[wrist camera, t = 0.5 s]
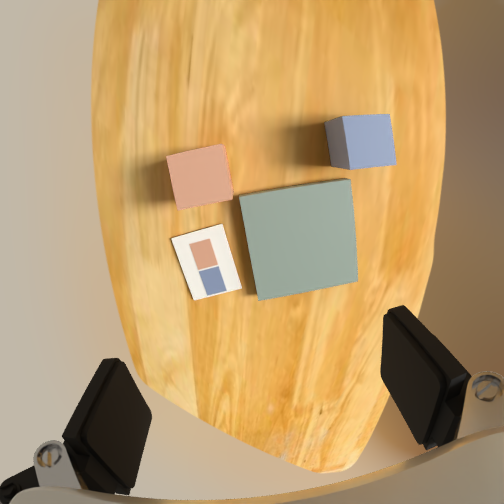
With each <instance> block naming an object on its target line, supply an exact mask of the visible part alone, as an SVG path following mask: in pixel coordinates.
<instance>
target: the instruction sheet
mask: <svg viewBox="0 0 504 504" xmlns="http://www.w3.org/2000/svg"><path fill="white" fill-rule="evenodd" d="M171 239H172V242H173V245H174V248H175V251H176V253H177V256H178V259H179V262H180V264H181V267H182V270H183V273H184V275H185V278H186V281H187V283H188V286H189V289H190V291H191V294H192V297H193V299H194V300H197V299H201V298H205V297H210V296H214V295H218V294H222V293H226V292H229V291H233V290H237V289H241V288H242V286H241V283H240V280H239V277H238V273H237V270H236V267H235V264H234V260H233V257H232V254H231V251H230V247H229V244H228V241H227V238H226V234H225V231H224V228H223V224H219V225H216V226H212V227H209V228H205V229H202V230H198V231H195V232H191V233H188V234H184V235H181V236H177V237H174V238H171Z"/></svg>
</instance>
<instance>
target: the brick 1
mask: <svg viewBox="0 0 504 504" xmlns="http://www.w3.org/2000/svg"><path fill="white" fill-rule="evenodd" d="M166 158H167V163H168V168H169V173H170V178H171V183H172V187H173V192H174V197H175V201H176V206H177V210H182V209H187V208H192V207H197V206H202V205H207V204H212V203H217V202H222V201H227V200H232V199H233V192H234V191H233V186H232V181H231V175H230V170H229V165H228V159H227V154H226V149H225V146H224V145H223V144H218V145H213V146H209V147H204V148H199V149H195V150H190V151H186V152H181V153H177V154H173V155H169V156H166Z"/></svg>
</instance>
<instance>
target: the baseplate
mask: <svg viewBox="0 0 504 504" xmlns="http://www.w3.org/2000/svg"><path fill="white" fill-rule="evenodd" d="M239 200H240V205H241V210H242V216H243V221H244V226H245V232H246V237H247V242H248V248H249V253H250V258H251V264H252V269H253V274H254V279H255V285H256V290H257V295H258V301H261V300H266V299H272V298H277V297H282V296H288V295H293V294H298V293H303V292H308V291H313V290H318V289H323V288H328V287H333V286H338V285H343V284H347V283H352V282H356V281H358V267H357V248H356V233H355V220H354V209H353V198H352V189H351V180H350V179H347V178H343V179H336V180H329V181H322V182H315V183H308V184H301V185H295V186H289V187H282V188H276V189H270V190H265V191H259V192H253V193H248V194H242V195H239Z"/></svg>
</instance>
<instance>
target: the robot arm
mask: <svg viewBox="0 0 504 504" xmlns="http://www.w3.org/2000/svg"><path fill="white" fill-rule="evenodd" d="M381 377H382V380H383V382H384V384H385V385H386V387H387V389H388V391H389V392H390V394H391V396H392V398H393V399H394V401H395V403H396V405H397V407H398V408H399V410H400V412H401V414H402V416H403V417H404V419H405V421H406V423H407V425H408V426H409V428H410V430H411V432H412V434H413V436H414V438H415V440H416V441H417V443H418V444H423V445H424V447H425V449H426V450H428V449H430V448H433V447H435V446H438V448H436V449H433V450H431V451H429V452H426V453H424V454H421V455H419V456H417V457H414V458H412V459H409V460H406V461H404V462H401V463H398V464H396V465H393V466H390V467H387V468H384V469H381V470H379V471H376V472H372V473H369V474H366V475H363V476H359V477H356V478H353V479H349V480H345V481H341V482H338V483H334V484H329V485H325V486H321V487H316V488H311V489H307V490H301V491H296V492H290V493H283V494H277V495H270V496H261V497H252V498H241V499H226V500H166V499H150V498H139V497H131V496H122V495H115V493H117V494H124V495H129V494H130V490H131V488H133V487H134V486H135V482H136V478H137V474H138V470H139V466H140V461H141V458H142V454H143V450H144V446H145V442H146V438H147V435H148V431H149V427H150V424H151V420H152V414H151V411H150V409H149V407H148V405H147V404H146V402H145V400H144V398H143V397H142V395H141V393H140V391H139V389H138V387H137V386H136V384H135V382H134V380H133V378H132V376H131V374H130V372H129V370H128V368H127V367H126V364H125V363H124V362H122V361H120V359H119V358H110V359H103V360H102V362H101V364H100V365H99V367H98V369H97V371H96V372H95V374H94V376H93V378H92V380H91V381H90V383H89V385H88V387H87V389H86V390H85V392H84V394H83V396H82V398H81V400H80V402H79V403H78V406H77V407H76V409H75V411H74V413H73V415H72V417H71V419H70V421H69V423H68V425H67V427H66V429H65V431H64V433H63V435H62V437H63V439H64V440H65V441H64V443H63V444H62V443H61V442H59V441H55V440H52V441H48V442H45V443H43V444H42V445H41V446H40V447H39V448H38V449H37V450H36V452H35V454H34V466H32V467H30V468H28V469H26V470H24V471H22V472H20V473H18V474H16V475H14V476H12V477H10V478H8V479H6V480H5V481H4V482H3V483H2V484H1V486H0V504H504V378H503V377H502V376H501V375H499V374H497V373H495V372H490V371H487V372H480V373H477V374H475V375H474V376H471V375H470V374H469V373H468V372H467V370H466V369H465V368H464V367H463V366H462V365H461V364H460V363H459V361H457V359H456V358H455V357H454V356H453V355H452V354H451V353H450V351H449V350H448V349H447V348H446V347H445V346H444V345H443V344H442V343H441V342H440V341H439V340H438V339H437V338H436V336H434V335H433V334H432V333H431V332H430V331H429V330H428V329H427V328H426V327H425V326H424V325H423V324H422V323H421V322H420V321H419V320H418V319H417V318H416V317H415V316H414V315H413V314H412V313H411V312H410V311H409V310H408V309H407V308H406V307H405V306H404V305H401V306H398V307H395V308H391V309H389V310H388V312H387V314H385V315H384V317H383V340H382V357H381Z"/></svg>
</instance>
